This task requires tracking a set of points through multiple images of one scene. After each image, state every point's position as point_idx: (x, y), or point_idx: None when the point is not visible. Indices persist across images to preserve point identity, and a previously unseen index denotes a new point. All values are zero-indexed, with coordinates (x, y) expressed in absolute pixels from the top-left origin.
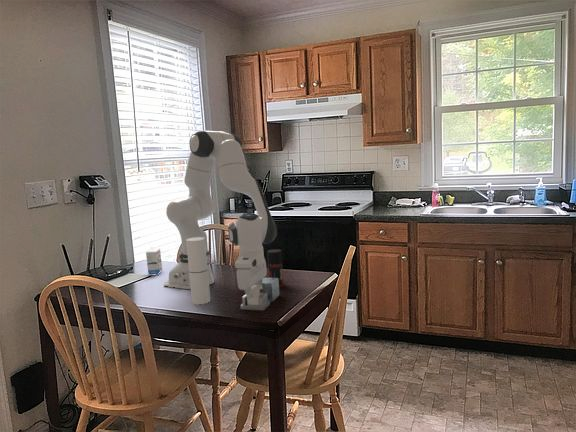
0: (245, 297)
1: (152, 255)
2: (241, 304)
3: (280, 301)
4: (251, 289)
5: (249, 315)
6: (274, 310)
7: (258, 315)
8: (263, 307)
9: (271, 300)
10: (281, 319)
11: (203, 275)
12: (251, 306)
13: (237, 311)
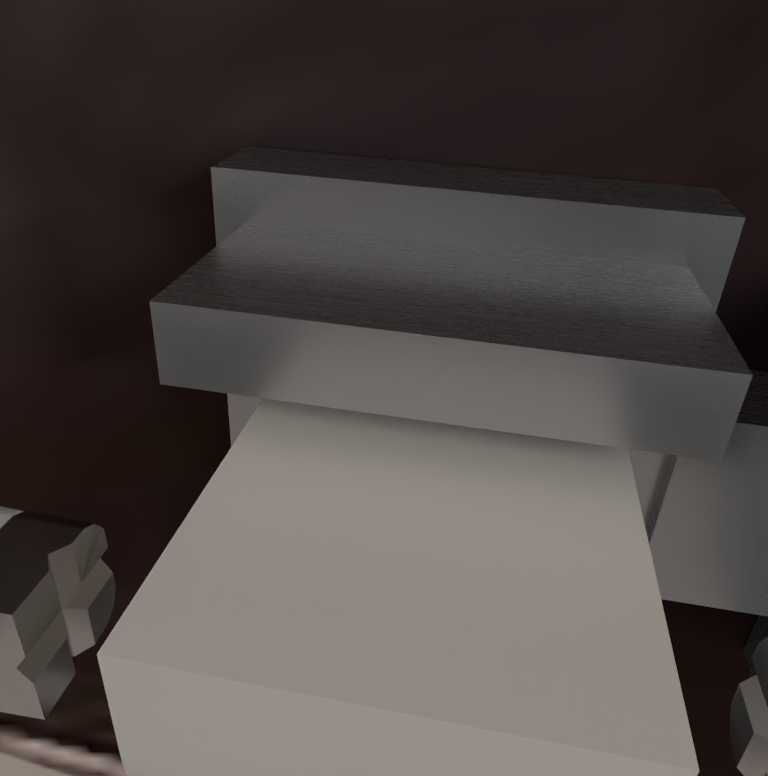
0: (249, 376)
1: None
2: (282, 176)
3: (722, 740)
4: (144, 771)
5: (6, 409)
6: None
7: None
8: None
9: (753, 649)
10: (32, 751)
11: None
12: (232, 426)
13: (115, 114)
